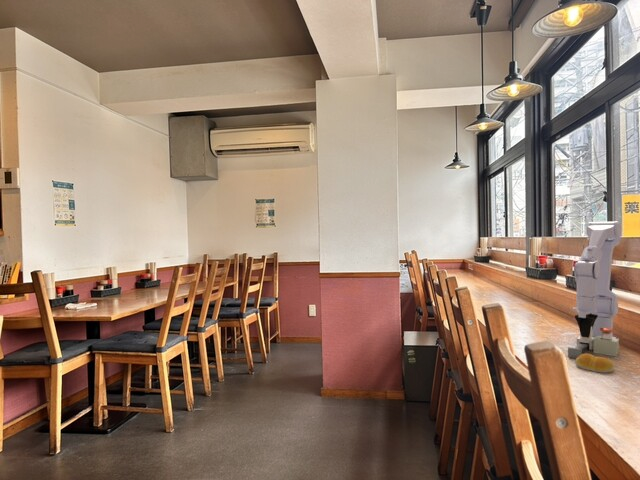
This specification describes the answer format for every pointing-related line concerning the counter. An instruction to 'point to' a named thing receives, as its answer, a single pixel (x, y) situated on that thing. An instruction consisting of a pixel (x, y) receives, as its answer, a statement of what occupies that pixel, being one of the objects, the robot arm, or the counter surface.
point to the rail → (578, 350)
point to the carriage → (587, 340)
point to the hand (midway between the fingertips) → (586, 336)
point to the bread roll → (595, 363)
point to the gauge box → (606, 346)
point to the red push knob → (606, 333)
